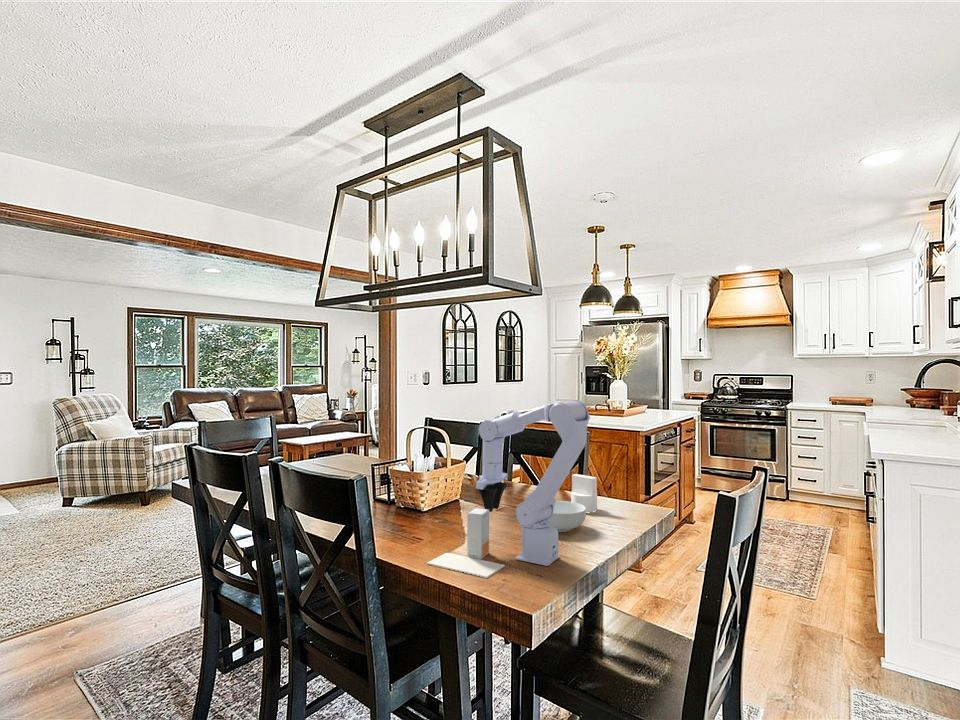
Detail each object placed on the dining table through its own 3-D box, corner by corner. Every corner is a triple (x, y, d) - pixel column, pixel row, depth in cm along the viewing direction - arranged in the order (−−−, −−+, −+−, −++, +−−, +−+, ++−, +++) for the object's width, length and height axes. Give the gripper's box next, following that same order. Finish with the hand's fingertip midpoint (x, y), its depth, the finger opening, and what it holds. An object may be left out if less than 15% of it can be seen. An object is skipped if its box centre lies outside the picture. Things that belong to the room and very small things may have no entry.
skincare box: (481, 560, 144) (481, 514, 144) (466, 558, 145) (466, 513, 145) (489, 552, 149) (489, 509, 149) (475, 550, 151) (475, 507, 151)
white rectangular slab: (504, 566, 139) (504, 565, 139) (486, 578, 131) (486, 576, 131) (446, 553, 148) (446, 552, 148) (426, 564, 141) (426, 562, 141)
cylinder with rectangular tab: (602, 510, 193) (601, 476, 194) (587, 515, 187) (587, 480, 187) (580, 505, 200) (580, 472, 200) (566, 510, 193) (566, 476, 193)
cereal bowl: (597, 532, 168) (597, 509, 168) (553, 540, 160) (553, 516, 160) (563, 518, 183) (563, 497, 183) (522, 525, 175) (522, 503, 175)
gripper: (493, 456, 163) (492, 502, 163) (466, 464, 150) (466, 513, 150) (514, 459, 159) (513, 505, 159) (488, 467, 147) (488, 517, 147)
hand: (491, 509), depth 154 cm, fingers open, 3 cm apart
